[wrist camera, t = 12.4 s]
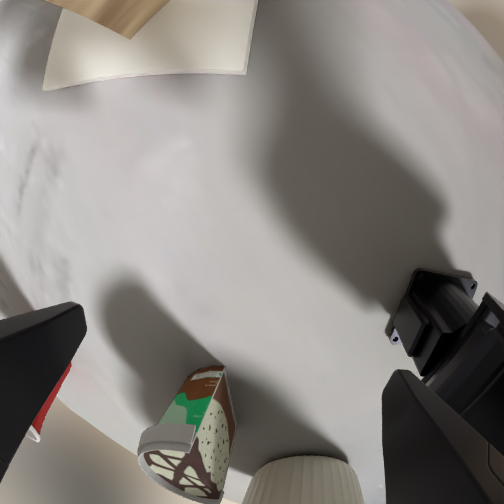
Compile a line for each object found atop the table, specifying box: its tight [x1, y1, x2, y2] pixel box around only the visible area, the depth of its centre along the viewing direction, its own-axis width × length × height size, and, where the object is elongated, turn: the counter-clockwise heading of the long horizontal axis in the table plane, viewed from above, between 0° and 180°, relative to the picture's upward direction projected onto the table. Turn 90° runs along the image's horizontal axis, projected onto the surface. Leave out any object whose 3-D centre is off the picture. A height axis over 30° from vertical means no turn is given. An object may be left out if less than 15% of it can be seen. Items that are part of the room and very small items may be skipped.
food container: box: [138, 366, 237, 504], centre depth 21 cm, size 12×6×10 cm, turn 5°
